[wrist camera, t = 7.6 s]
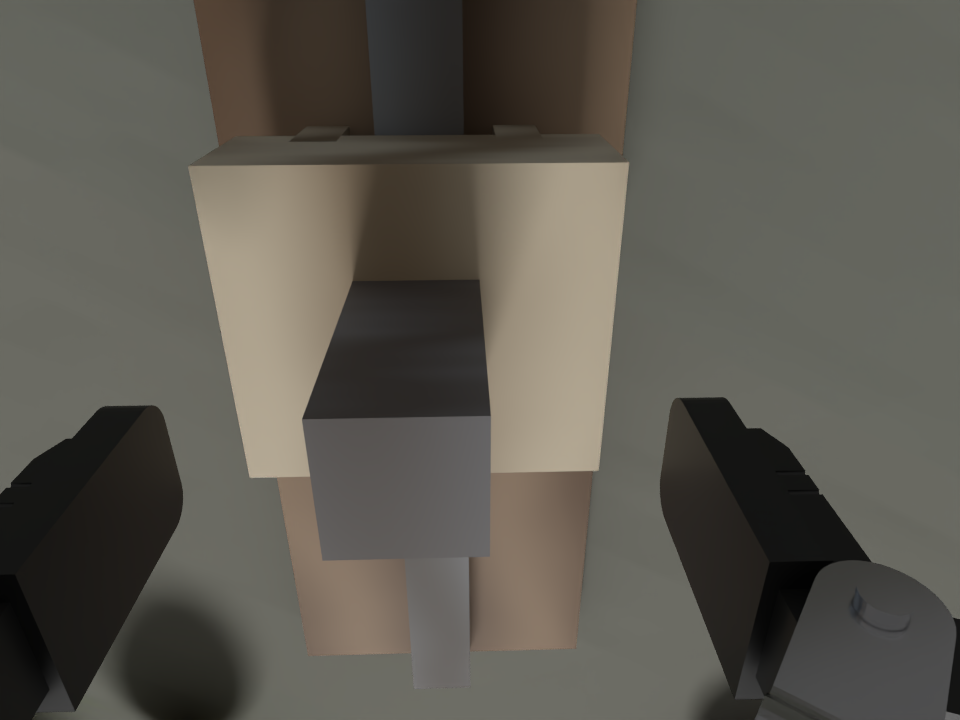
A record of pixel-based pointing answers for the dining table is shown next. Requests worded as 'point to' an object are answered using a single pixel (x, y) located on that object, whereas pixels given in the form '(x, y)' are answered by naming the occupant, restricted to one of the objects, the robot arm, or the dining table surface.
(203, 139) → the dining table surface
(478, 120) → the rail
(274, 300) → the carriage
